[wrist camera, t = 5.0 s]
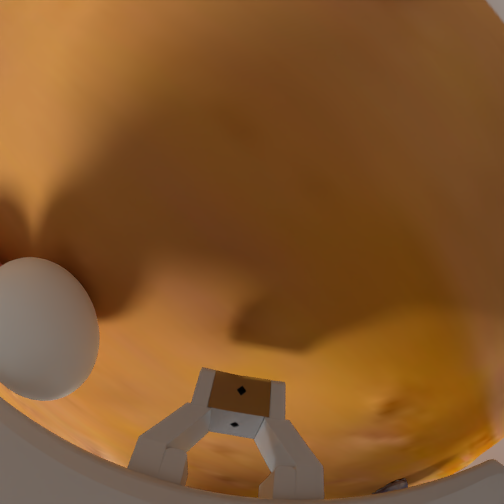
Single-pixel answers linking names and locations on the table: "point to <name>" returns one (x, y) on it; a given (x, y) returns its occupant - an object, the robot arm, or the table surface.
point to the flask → (393, 486)
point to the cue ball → (45, 330)
